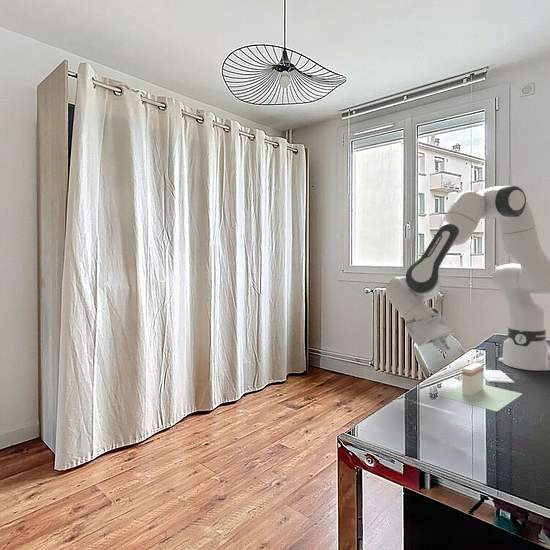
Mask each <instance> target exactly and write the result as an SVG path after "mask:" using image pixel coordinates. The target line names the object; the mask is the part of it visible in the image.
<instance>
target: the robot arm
mask: <svg viewBox="0 0 550 550" xmlns="http://www.w3.org/2000/svg"><path fill="white" fill-rule="evenodd" d="M482 219H487V220H488V219H493V220H494V219H497V220H498V221H499V229H500V235H501V240H502V245H503V249H504V252H505V254H507V255H508V256H510V257H512V258H513V259H514V260H516V261H517V263H506V264H500V265H499V266H497V267H496V268H495V269H494V271H493V273H492V283H493V284H494V286H495V287H496V288H497V289H498V290H500V292H501V293H502V294H503V296H504V298H505V300H506V303H507V306H508V315H509V316H508V317H509V321H508V323H509V325H508V326H509V327H508V328H507V339H505V340H504V341H503V348H502V357H498V361H499V362H501V363H503V364H504V365H506V366H508V367H511V368H515V369H519V370H525V371H549V370H550V345H549V344H548V342H547V341H546V339H547V338H546V334H547V330H546V328H545V310H544V309H543V307H542V306H541V305H540V304H538V303H537V302H536V301H535V300H534V299H533V297H532V295H531V294H540V295H547V294H548V295H549V294H550V258H549V257H548V256H547V255H546V254H545V252H544V251H543V249H542V247H541V245H540V241H539V237H538V233H537V226H536V221H535V219H534V215H533V212H532V209H531V207H530V204H529V203H528V202H527V196H526V194H525V192H524V189H522V188H521V187H519V186H517V185H504V186H501V185H499V186H492V187H489V188H485V189H480V190H479V189H478V190H475V191H473V190H467V191H462V192H461V193H460V194H459V195H458V196H457V198H456V199H454V201H453V202H452V204H451V205H450V206H449V208H448V210H447V212H446V213H445V215H444V217H443V218H442V221H441V223H440V225H439V227H438V229H437V232H436V233H435V235H434V236H433V238H432V240H431V241H430V243H429V244H428V246H427V247H426V249H425V251H424V253H423V254H422V255H421V257H420V258H419V259H418V260H416V261H415V262H414V263H412V264H411V265H410V266H409V267H408V269H407V270H406V272H405V276H396V277H394V278H392V279H391V280H390V281H389V282H388V283H387V285H386V287H385V295H386V297H387V299H388V301H389V302H390V304H392V306H393V307H394V309H396V310H397V311H398V312H399V313H400V314H401V317H402V319H403V320H404V321H405V324H404V325H405V327H406V330H407V332H408V335H409V336H410V338H411V339H412V340H413V342H414V343H415V344H416V346H418V347H422V346H423V347H424V346H425V345H429V344H433V346H434V347H436V348H437V349H439V350H440V352H442V353H446V352H449V351H450V350H451V346H449V344H448V341H447V339H448V338H449V337H451V336H452V335H453V334H454V329H453V327H452V326H451V325H450V323H449V322H448V320H446V318H444V317H443V315H441V312H440V310H439V309H437V308H433V307H431V306H429V305H428V306H427V304H426V302H428V301H431V300H432V299H434V298H436V297H437V296H438V295H439V293H440V292H441V290H442V289H441V288H442V284H441V280H440V278H439V270H440V267H441V265H442V263H443V261H444V259H445V258H446V256H447V254H448V253H449V252H450V250H451V249H452V247H454V246H457V245H458V246H459V245H463V244H465V243H467V241H468V240H469V239H470V238H471V237H472V235H473V234H474V232H475V230H476V229H477V227H478V225H479V223H480V220H482Z"/></svg>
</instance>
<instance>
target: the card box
mask: <svg viewBox="0 0 550 550" xmlns="http://www.w3.org/2000/svg"><path fill="white" fill-rule="evenodd" d="M484 366H485V365H484V363H478V362H474V363H471V364H469V365H467V366H465V367H463V368H462V371H461V375H462V377H461V378H462V379H461V380H462V381H461V383H462V384H461V385H462V394H464V395H468V396H472V395H474V394H476V393H477V392H479V391H481V390H483V385H484V378H483V375H484V370H485V367H484Z"/></svg>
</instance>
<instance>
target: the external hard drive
mask: <svg viewBox="0 0 550 550" xmlns="http://www.w3.org/2000/svg"><path fill="white" fill-rule="evenodd" d="M483 380H486V382H488V383H496V384H497V383H498V384H500V383H501V384H515V383H516V382H515V381H514V380H513V379H511V378H510V377H509V376H508V375H507V374H505V373H504V372H503V371H502V370H498V369H495V370H493V369H484V375H483Z"/></svg>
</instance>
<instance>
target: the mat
mask: <svg viewBox="0 0 550 550" xmlns="http://www.w3.org/2000/svg"><path fill="white" fill-rule="evenodd" d="M522 395H523V393H522V392H518V391H512V390H509V389H504V388H500V387H495V386H491V385H487V384H483V390H481V391H479V392H477V393H476V394H474V395H472V396H468V395H464V394H462V384H461V385H459V386H458V387H455V388H453V389H451V390H449V391H447V392H445V393H443V394H442V395H440V397H442V398H446V399H450V400H453V401H457V402H460V403H463V404H468V405H471V406H475V407H479V408H482V409H485V410H490V411H493V412H499V411H501V410H502V409H503V408H505V407H507V405H509V404H510V403H512V402H513V401H515V400H516V399H518V398H519V397H520V396H522Z"/></svg>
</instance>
